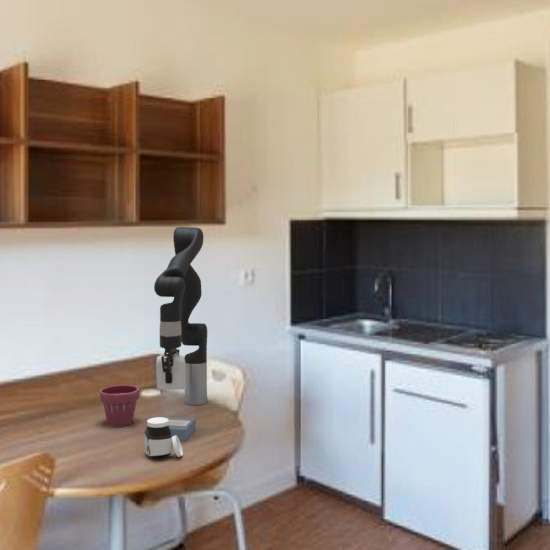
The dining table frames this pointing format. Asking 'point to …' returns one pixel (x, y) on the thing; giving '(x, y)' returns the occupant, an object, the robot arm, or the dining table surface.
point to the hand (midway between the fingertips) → (170, 381)
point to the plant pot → (119, 403)
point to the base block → (182, 427)
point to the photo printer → (177, 374)
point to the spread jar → (160, 439)
